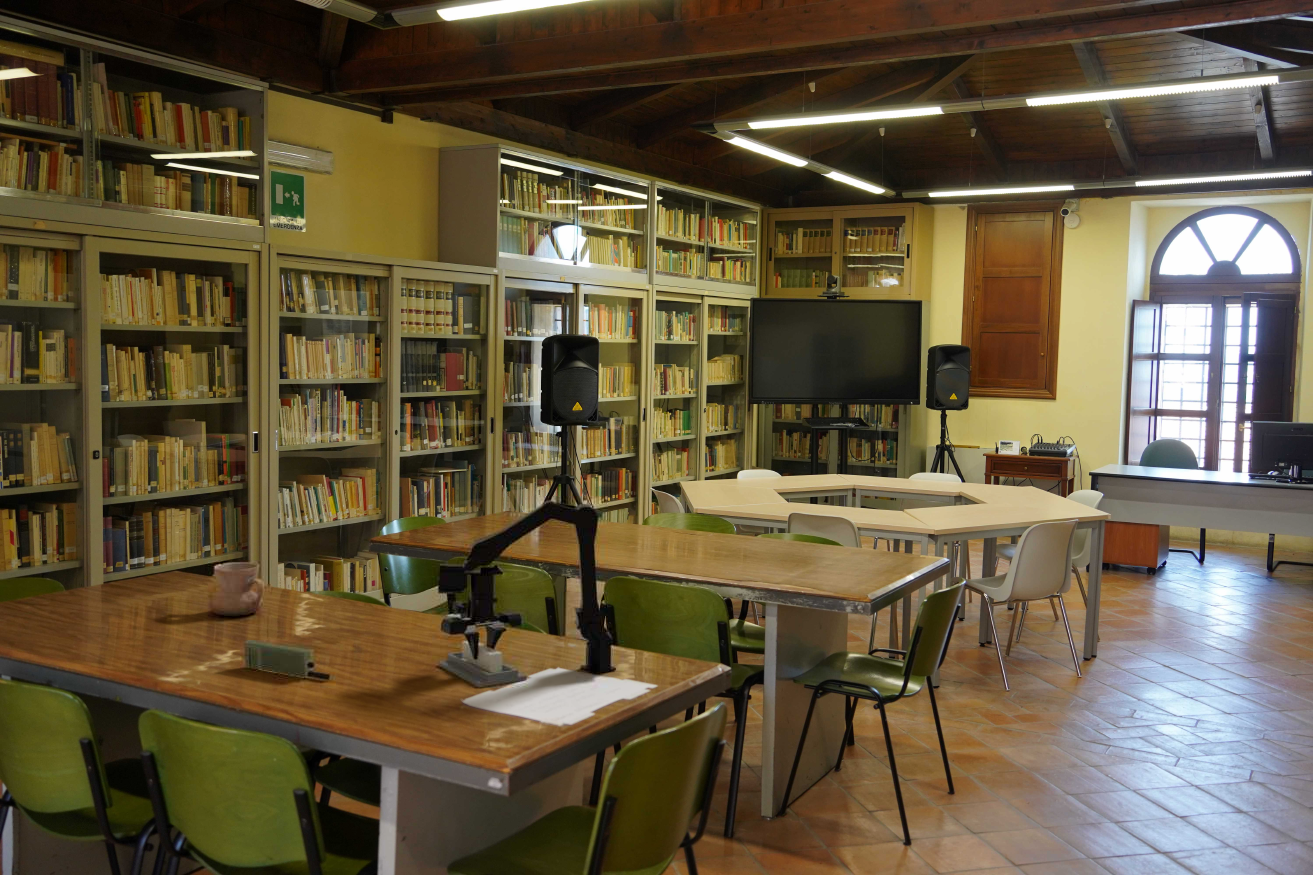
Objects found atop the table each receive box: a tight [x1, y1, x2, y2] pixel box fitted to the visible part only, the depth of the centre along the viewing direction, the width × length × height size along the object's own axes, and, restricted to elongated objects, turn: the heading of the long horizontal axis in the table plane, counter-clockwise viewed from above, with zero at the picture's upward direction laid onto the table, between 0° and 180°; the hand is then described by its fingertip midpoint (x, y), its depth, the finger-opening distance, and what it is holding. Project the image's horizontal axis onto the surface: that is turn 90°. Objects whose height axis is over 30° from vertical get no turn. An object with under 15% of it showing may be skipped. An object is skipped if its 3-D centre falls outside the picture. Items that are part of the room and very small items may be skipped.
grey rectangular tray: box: [438, 651, 527, 689], centre depth 250 cm, size 22×12×3 cm, turn 35°
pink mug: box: [208, 561, 265, 617], centre depth 307 cm, size 18×14×14 cm
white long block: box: [461, 640, 503, 672], centre depth 250 cm, size 15×3×4 cm, turn 35°
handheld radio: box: [244, 639, 331, 681], centre depth 246 cm, size 7×3×25 cm
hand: (481, 658), depth 250 cm, fingers closed on white long block, 3 cm apart
